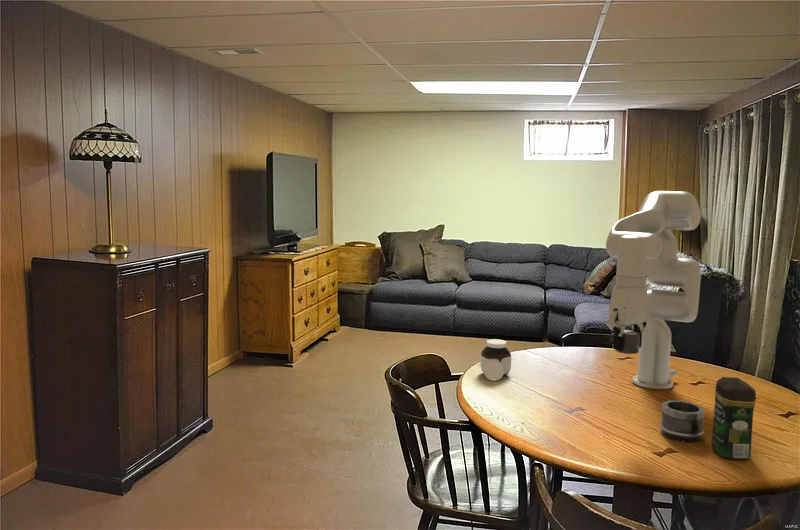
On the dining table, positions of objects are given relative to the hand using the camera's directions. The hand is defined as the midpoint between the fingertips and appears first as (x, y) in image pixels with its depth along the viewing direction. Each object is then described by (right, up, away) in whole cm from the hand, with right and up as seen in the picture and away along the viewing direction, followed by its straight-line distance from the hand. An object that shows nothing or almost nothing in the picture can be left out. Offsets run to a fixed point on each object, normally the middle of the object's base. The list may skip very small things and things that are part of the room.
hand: (626, 347), depth 165 cm
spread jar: (-28, -16, +45) cm, 56 cm away
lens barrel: (+14, -23, -2) cm, 27 cm away
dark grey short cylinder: (0, -1, 0) cm, 1 cm away
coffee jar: (+21, -25, -13) cm, 35 cm away
